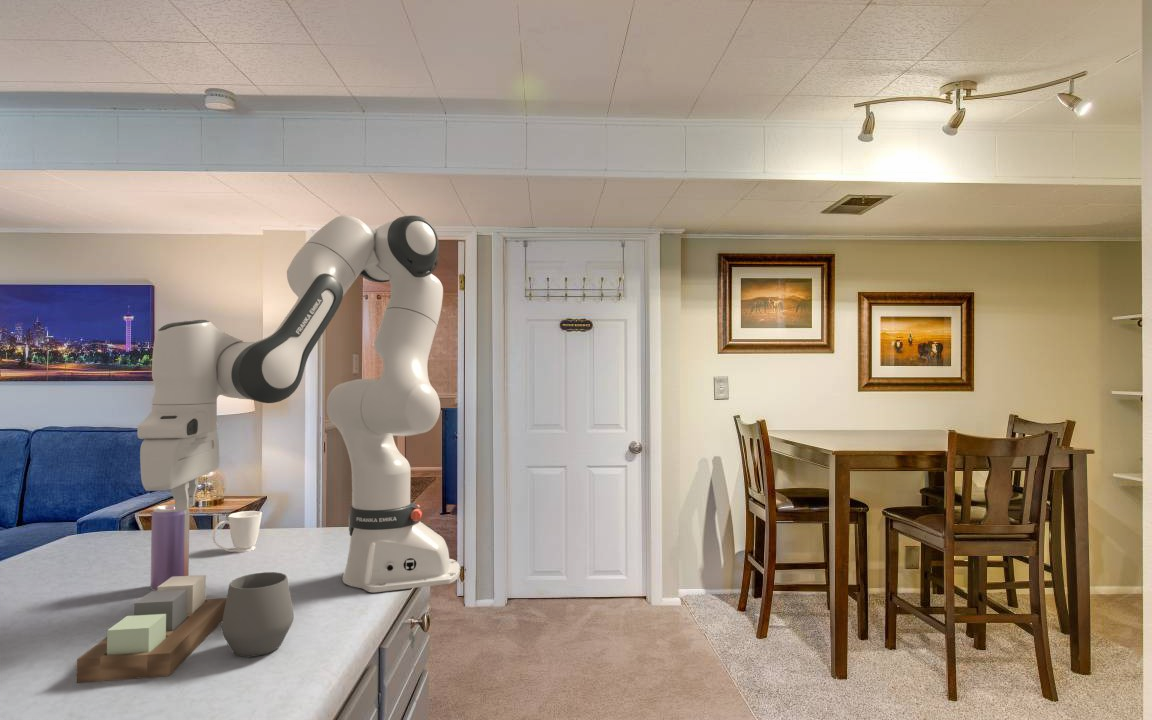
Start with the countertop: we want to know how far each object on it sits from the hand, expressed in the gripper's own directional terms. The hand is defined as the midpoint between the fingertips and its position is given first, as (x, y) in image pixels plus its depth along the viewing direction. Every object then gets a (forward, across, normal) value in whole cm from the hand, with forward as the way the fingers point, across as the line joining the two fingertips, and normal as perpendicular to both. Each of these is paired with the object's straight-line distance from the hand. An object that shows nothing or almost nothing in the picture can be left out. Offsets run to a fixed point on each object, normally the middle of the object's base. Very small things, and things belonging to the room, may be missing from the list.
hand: (184, 508), depth 101 cm
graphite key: (+16, +7, 0) cm, 17 cm away
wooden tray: (+19, +7, 0) cm, 20 cm away
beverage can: (+19, -20, -10) cm, 30 cm away
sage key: (+17, +14, -1) cm, 22 cm away
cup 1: (+19, -44, -6) cm, 49 cm away
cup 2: (+19, +11, +14) cm, 26 cm away
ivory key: (+16, 0, 0) cm, 16 cm away
